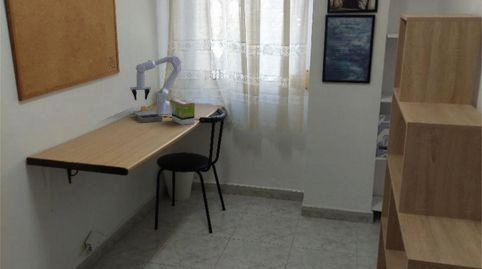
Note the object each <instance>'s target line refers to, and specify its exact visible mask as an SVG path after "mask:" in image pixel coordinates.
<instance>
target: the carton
mask: <svg viewBox="0 0 482 269" xmlns="http://www.w3.org/2000/svg"><path fill="white" fill-rule="evenodd" d="M136 120H138V121H139V122H140V123H141V124H146V123H148V124H149V123H157V122H163V116H162V115H161V114H159V115H158V114H156V115H144V116H138V115H136Z"/></svg>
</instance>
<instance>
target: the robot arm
mask: <svg viewBox="0 0 482 269" xmlns="http://www.w3.org/2000/svg"><path fill="white" fill-rule="evenodd" d="M165 63H169V64H171V66H172V68H173V70H171V73H170V75H169V76H168V78H167V79H166V81H165V83H164V85H163V86H162V88H160V90H158V91H157V92H156V94H155V97H156V98H157V99H156V100H155V102H156V105H155V108H156V111H155V112H156V113H158V115H169V114H171V104H170V103H171V102H170V101H169V100H167V97H168V95H169V91H170V89H171V88H172V86H173V84H174V83H175V82H176V79H177V78H178V76H179V74H180V73H181V71H182V60H181V58H180V57H179V55H176V54H171V55H166V56H164V57H162V58H159V59H156V60H153V59H152V60H150V59H149V60H147V61H145V62H141V63H137V65H136V67H135V69H136V86H131V87H129V88H130V89H129V90H130V91H131V93H132V95H133V99H134V101H137V93H138V92H137V91H143V90H144V100H145V101H147V100H148V97H149V94H150V91H151V89H152V87H151V86H146V81H145V80H146V77H145V76H146V75H145V72H146V71H149V70H153V69H155V68H156V67H157V66H158V65H162V64H165Z"/></svg>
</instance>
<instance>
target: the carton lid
mask: <svg viewBox="0 0 482 269" xmlns="http://www.w3.org/2000/svg"><path fill="white" fill-rule="evenodd" d="M133 113H134V114H135V115H136V116H137V115H138V116H144V115H156V114H158V113H156V111H155V110H153V109H151V110H150V109H148V110H147V106H146V105H141V106H140V110H138V111H137V110H136V111H133Z"/></svg>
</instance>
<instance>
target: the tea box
mask: <svg viewBox="0 0 482 269" xmlns="http://www.w3.org/2000/svg"><path fill="white" fill-rule="evenodd" d="M171 121H173V122H175V123H178V124H180V125H182V126H186V125H185V124H187V125H192V123H193V124H195V102H193V101H191V100H188V99H186V98H179V99H178V98H177V99H171Z"/></svg>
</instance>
